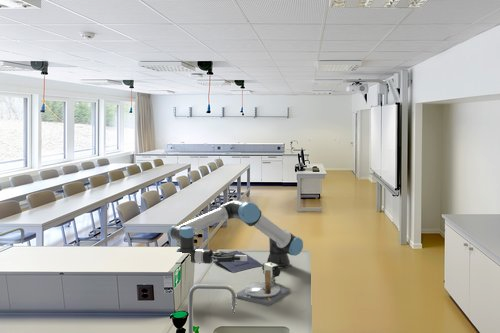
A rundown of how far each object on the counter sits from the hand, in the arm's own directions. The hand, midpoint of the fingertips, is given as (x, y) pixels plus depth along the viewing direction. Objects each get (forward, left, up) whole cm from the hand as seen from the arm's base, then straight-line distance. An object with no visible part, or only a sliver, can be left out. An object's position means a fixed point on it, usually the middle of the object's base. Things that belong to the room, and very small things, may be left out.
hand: (246, 258), depth 231 cm
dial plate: (-9, +4, -22) cm, 24 cm away
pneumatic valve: (-28, -1, -22) cm, 36 cm away
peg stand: (-9, +4, -21) cm, 23 cm away
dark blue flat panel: (-47, -40, -23) cm, 66 cm away
